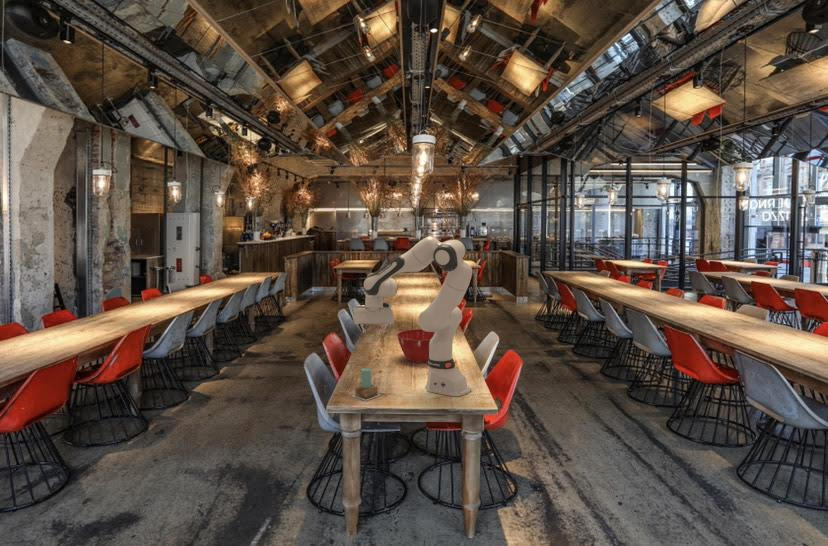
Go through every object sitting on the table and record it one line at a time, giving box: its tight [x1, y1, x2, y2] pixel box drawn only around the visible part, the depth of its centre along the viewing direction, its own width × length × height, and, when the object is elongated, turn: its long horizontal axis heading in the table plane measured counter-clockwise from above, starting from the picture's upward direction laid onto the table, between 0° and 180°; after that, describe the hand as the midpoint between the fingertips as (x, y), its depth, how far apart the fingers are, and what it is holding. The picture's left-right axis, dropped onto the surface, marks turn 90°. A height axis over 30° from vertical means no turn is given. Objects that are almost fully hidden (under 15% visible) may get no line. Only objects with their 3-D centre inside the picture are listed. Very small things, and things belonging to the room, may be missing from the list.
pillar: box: [360, 367, 372, 388], centre depth 227 cm, size 4×4×8 cm
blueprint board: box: [348, 392, 385, 403], centre depth 228 cm, size 12×12×1 cm
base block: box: [354, 384, 378, 399], centre depth 228 cm, size 7×7×4 cm
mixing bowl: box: [396, 328, 435, 364], centre depth 287 cm, size 28×28×16 cm
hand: (373, 333), depth 247 cm, fingers open, 8 cm apart
